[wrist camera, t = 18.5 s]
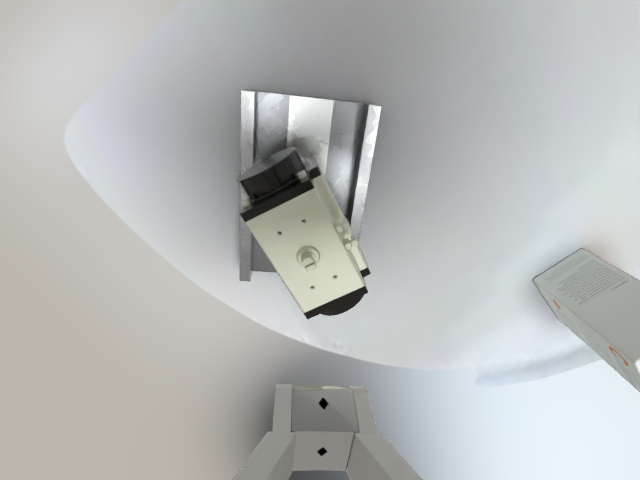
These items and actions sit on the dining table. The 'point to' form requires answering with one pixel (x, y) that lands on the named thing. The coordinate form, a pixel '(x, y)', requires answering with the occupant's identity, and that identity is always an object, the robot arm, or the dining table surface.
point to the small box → (597, 308)
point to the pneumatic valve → (304, 233)
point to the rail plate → (308, 152)
